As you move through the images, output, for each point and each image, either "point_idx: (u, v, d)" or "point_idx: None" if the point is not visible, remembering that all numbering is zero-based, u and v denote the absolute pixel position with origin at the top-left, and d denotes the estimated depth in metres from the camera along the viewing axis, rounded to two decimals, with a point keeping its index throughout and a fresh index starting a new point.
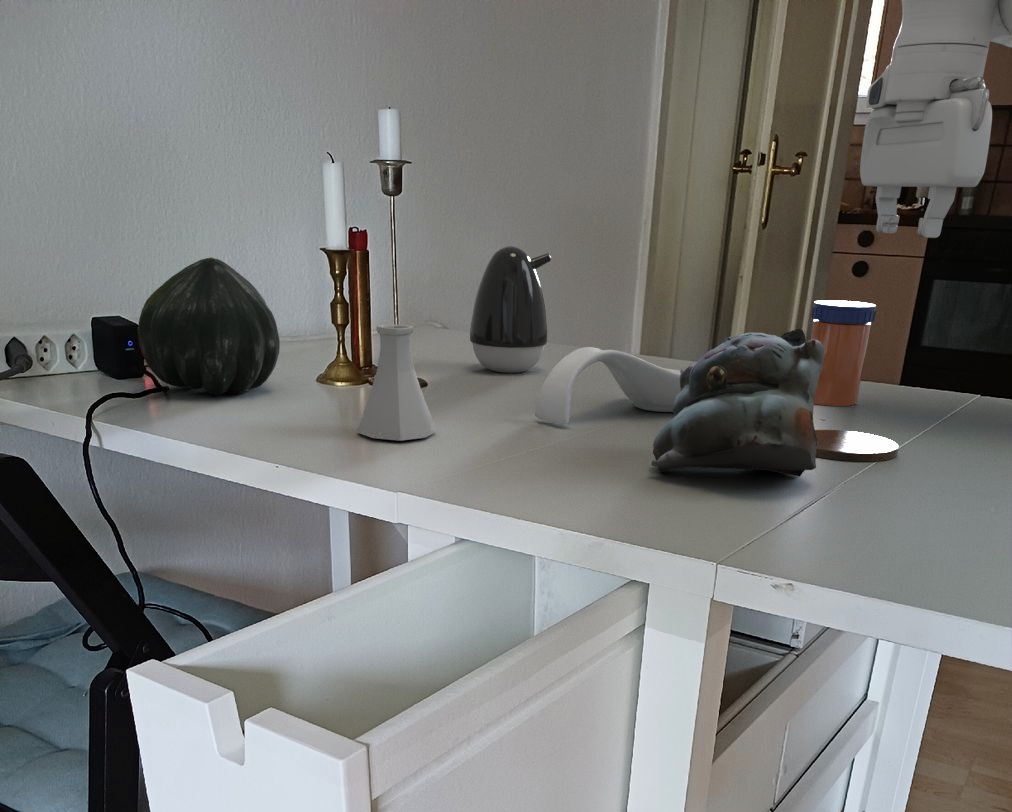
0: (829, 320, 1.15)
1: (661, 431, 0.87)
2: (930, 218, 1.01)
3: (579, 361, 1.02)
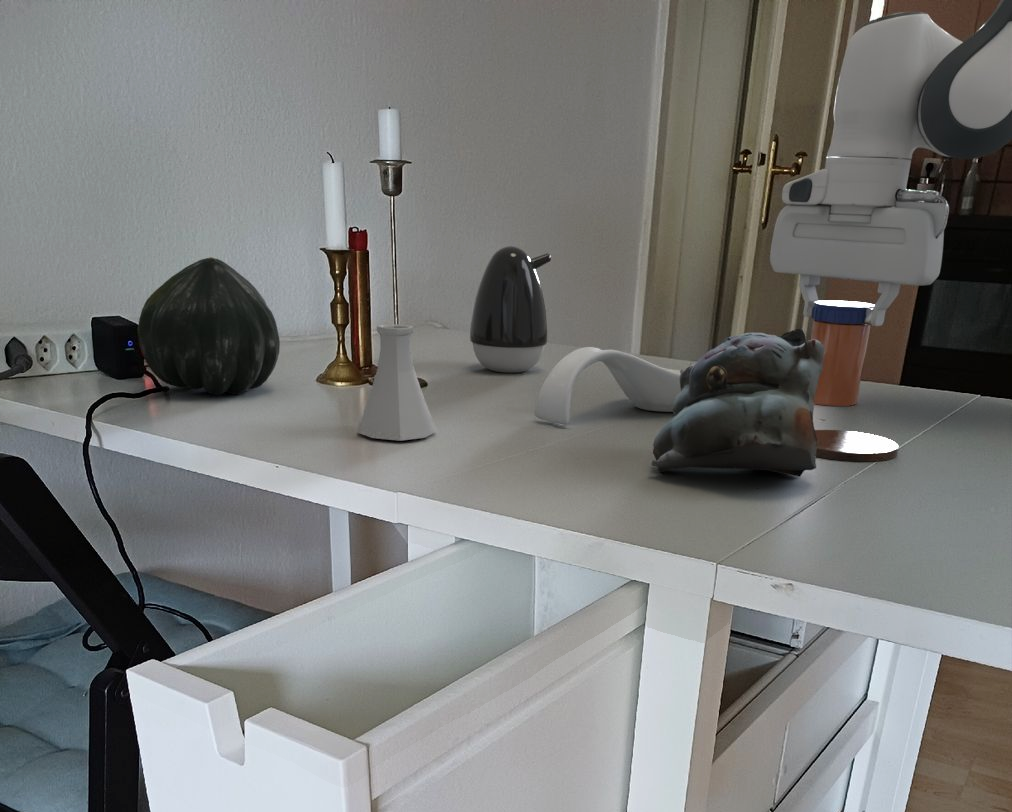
0: (829, 320, 1.15)
1: (661, 431, 0.87)
2: (879, 309, 1.13)
3: (579, 361, 1.02)
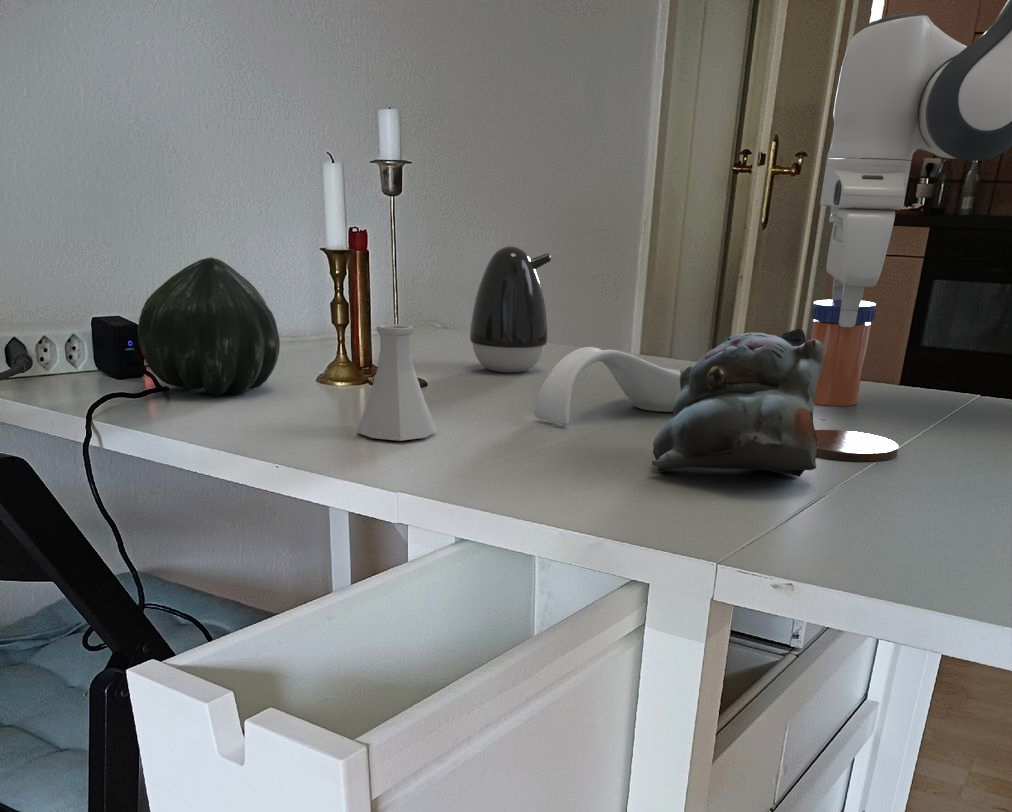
0: None
1: (661, 431, 0.87)
2: None
3: (579, 361, 1.02)
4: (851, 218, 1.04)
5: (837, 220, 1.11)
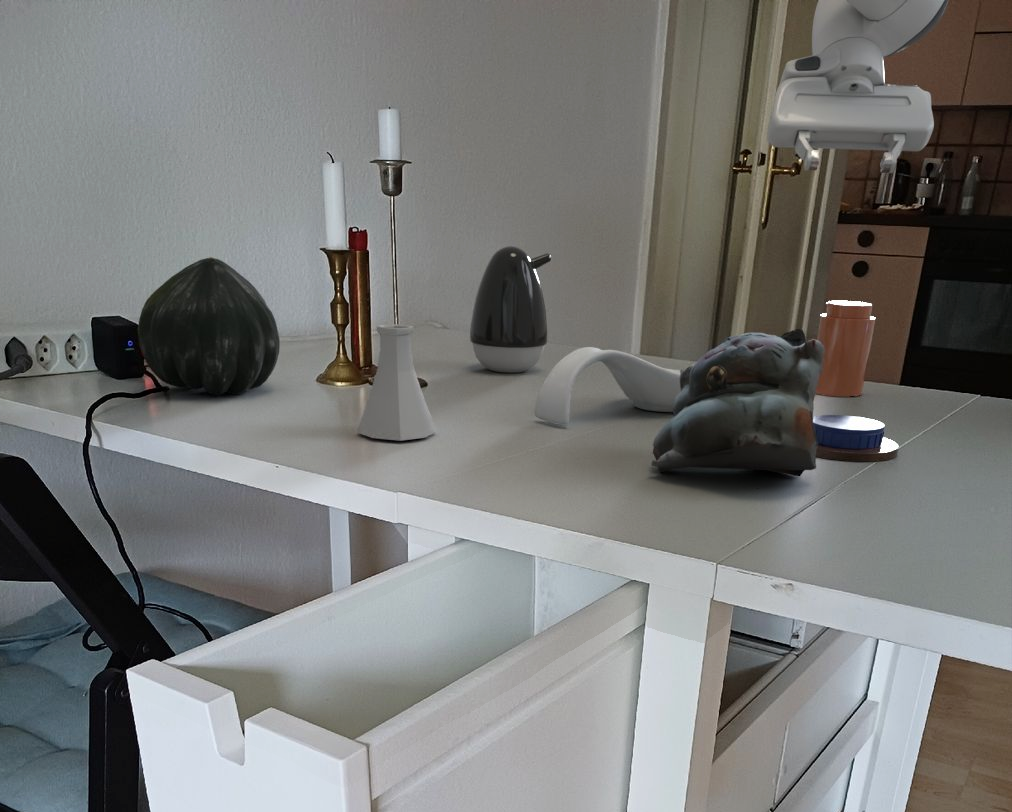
0: None
1: (661, 431, 0.87)
2: (895, 154, 1.26)
3: (579, 361, 1.02)
4: None
5: None
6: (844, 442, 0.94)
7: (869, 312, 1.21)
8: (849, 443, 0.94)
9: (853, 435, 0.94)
